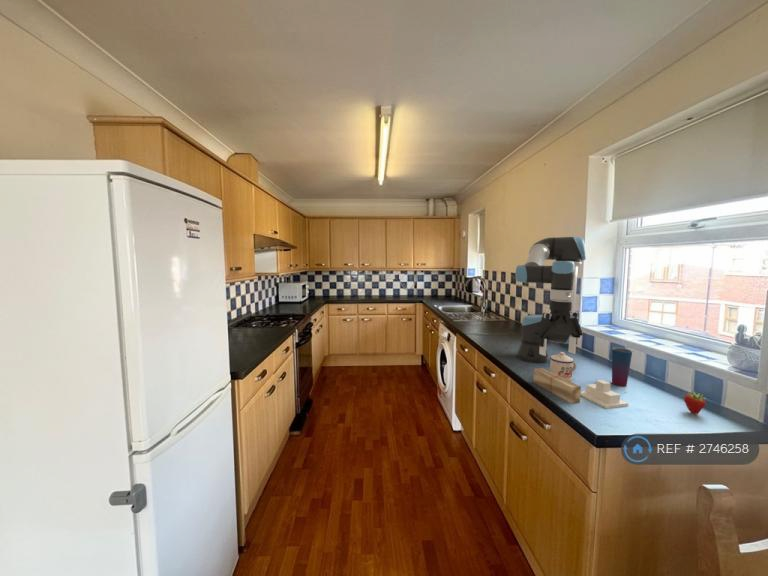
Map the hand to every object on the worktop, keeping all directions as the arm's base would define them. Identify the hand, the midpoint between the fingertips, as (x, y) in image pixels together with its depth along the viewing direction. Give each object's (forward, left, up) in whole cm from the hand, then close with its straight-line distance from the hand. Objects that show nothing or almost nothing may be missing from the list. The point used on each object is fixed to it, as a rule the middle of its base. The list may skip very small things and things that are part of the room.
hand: (557, 353), depth 123 cm
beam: (0, 0, -16) cm, 16 cm away
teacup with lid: (-12, +15, -16) cm, 25 cm away
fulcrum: (+10, +12, -15) cm, 22 cm away
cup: (-1, +33, -16) cm, 37 cm away
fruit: (+25, +34, -16) cm, 45 cm away
